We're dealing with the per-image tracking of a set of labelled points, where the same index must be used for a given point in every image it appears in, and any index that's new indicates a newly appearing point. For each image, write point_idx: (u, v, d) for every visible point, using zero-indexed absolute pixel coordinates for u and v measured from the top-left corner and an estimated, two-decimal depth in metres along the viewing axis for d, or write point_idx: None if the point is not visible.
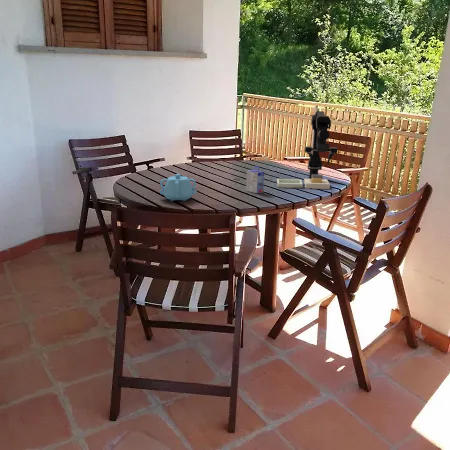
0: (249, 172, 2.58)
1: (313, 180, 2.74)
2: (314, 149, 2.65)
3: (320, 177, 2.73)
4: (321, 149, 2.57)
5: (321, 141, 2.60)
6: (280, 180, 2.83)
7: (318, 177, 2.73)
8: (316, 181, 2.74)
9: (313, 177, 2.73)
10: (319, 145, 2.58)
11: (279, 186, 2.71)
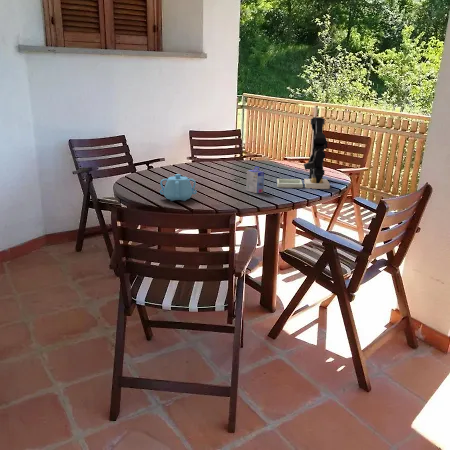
0: (249, 172, 2.58)
1: (313, 180, 2.74)
2: None
3: None
4: (304, 166, 2.74)
5: None
6: (280, 180, 2.83)
7: None
8: None
9: (313, 177, 2.73)
10: None
11: (279, 186, 2.71)
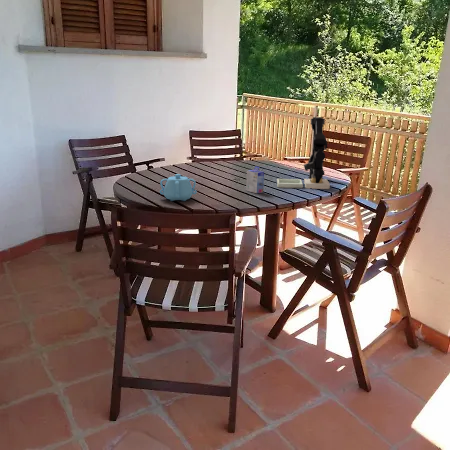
0: (249, 172, 2.58)
1: (313, 180, 2.74)
2: None
3: None
4: (304, 167, 2.74)
5: (313, 161, 2.72)
6: (280, 180, 2.83)
7: None
8: None
9: (313, 177, 2.73)
10: (307, 163, 2.74)
11: (279, 186, 2.71)
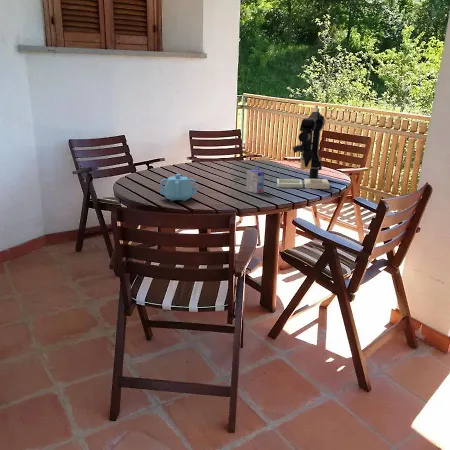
0: (249, 172, 2.58)
1: (302, 162, 2.71)
2: None
3: None
4: (293, 149, 2.71)
5: (302, 143, 2.69)
6: (280, 180, 2.83)
7: None
8: None
9: (302, 159, 2.70)
10: None
11: (279, 186, 2.71)
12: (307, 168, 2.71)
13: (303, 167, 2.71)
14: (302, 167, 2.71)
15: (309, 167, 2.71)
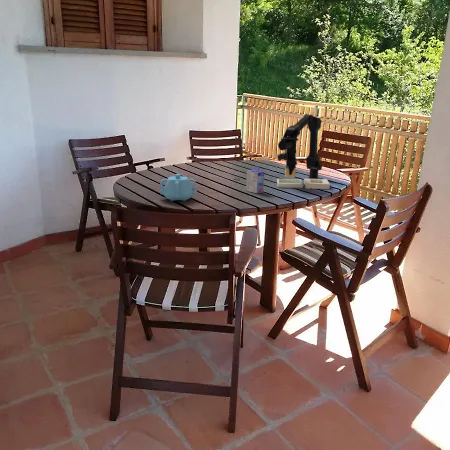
0: (249, 172, 2.58)
1: (286, 170, 2.73)
2: None
3: None
4: None
5: (286, 151, 2.72)
6: (280, 180, 2.83)
7: None
8: None
9: (286, 167, 2.73)
10: None
11: (279, 186, 2.71)
12: (291, 176, 2.74)
13: (287, 175, 2.74)
14: (286, 175, 2.74)
15: (293, 175, 2.74)
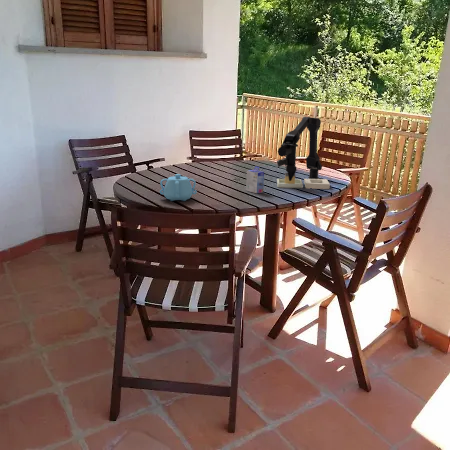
0: (249, 172, 2.58)
1: (286, 178, 2.75)
2: None
3: None
4: None
5: (286, 157, 2.73)
6: (280, 180, 2.83)
7: None
8: None
9: (286, 175, 2.74)
10: None
11: (279, 186, 2.71)
12: None
13: None
14: None
15: (293, 183, 2.75)
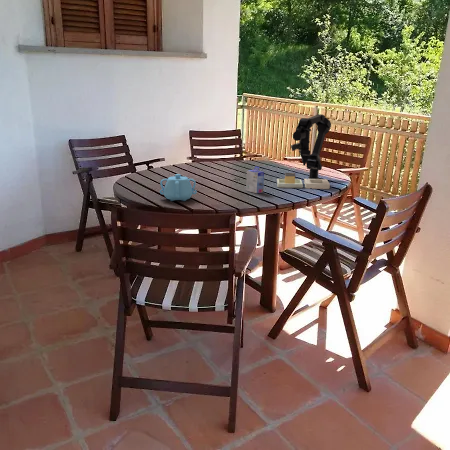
0: (249, 172, 2.58)
1: (286, 178, 2.75)
2: None
3: (293, 175, 2.74)
4: None
5: (300, 141, 2.80)
6: (280, 180, 2.83)
7: (291, 175, 2.74)
8: (289, 179, 2.75)
9: (286, 175, 2.74)
10: None
11: (279, 186, 2.71)
12: None
13: None
14: None
15: (293, 183, 2.75)
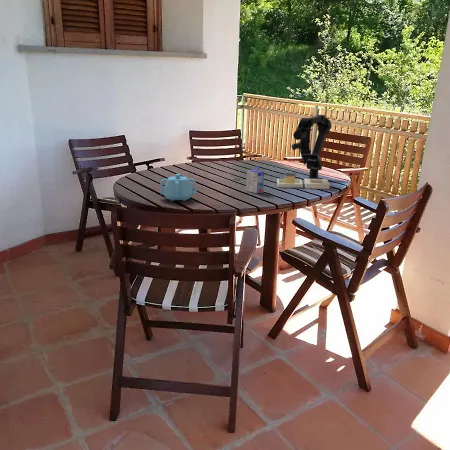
0: (249, 172, 2.58)
1: (286, 178, 2.75)
2: None
3: (293, 175, 2.74)
4: None
5: None
6: (280, 180, 2.83)
7: (291, 175, 2.74)
8: (289, 179, 2.75)
9: (286, 175, 2.74)
10: None
11: (279, 186, 2.71)
12: None
13: None
14: None
15: (293, 183, 2.75)
